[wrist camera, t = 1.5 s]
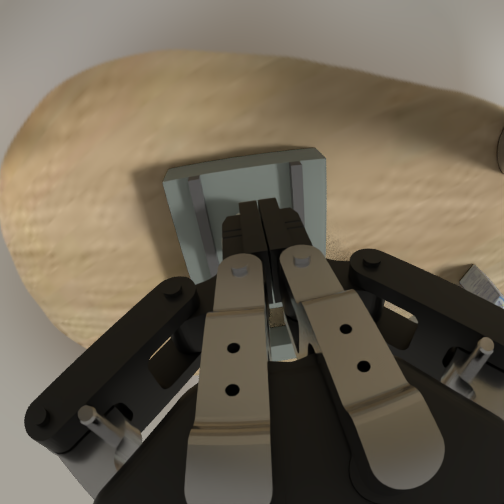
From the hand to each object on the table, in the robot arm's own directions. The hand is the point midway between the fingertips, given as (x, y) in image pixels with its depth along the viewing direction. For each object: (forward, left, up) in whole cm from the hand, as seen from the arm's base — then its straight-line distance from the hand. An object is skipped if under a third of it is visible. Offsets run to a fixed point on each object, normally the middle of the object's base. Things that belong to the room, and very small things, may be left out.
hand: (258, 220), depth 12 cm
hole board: (0, +18, -18) cm, 26 cm away
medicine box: (-39, +28, -19) cm, 51 cm away
